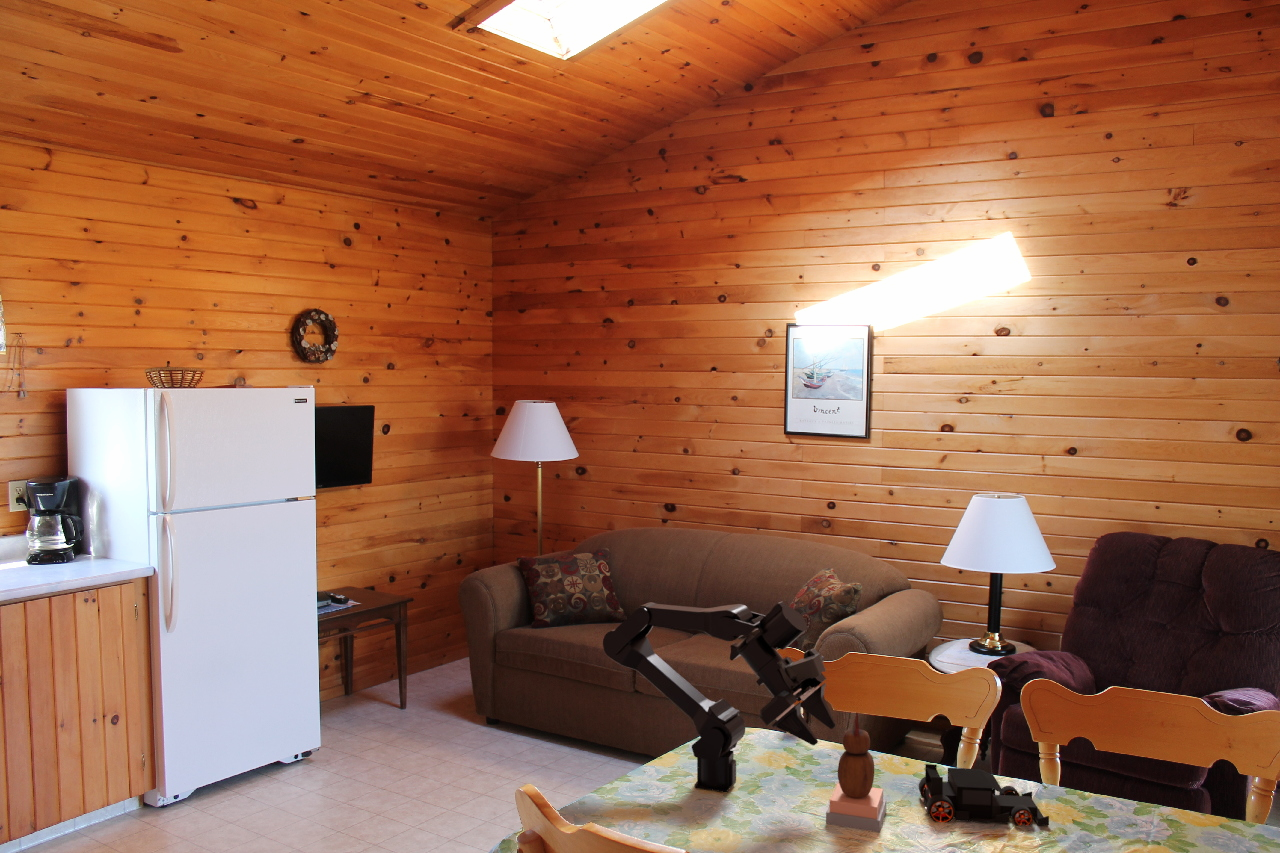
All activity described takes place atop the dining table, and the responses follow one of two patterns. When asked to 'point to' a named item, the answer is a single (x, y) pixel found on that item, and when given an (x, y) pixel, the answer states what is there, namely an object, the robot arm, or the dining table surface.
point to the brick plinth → (856, 820)
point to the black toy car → (975, 798)
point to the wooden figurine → (856, 763)
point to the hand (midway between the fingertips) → (825, 735)
